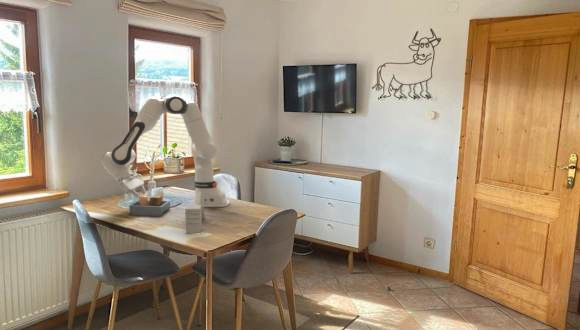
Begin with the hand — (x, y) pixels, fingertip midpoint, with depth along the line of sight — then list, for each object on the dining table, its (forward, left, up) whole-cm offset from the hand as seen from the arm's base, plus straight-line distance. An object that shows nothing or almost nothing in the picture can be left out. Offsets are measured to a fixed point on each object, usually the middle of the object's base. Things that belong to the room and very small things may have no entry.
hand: (142, 194), depth 250 cm
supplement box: (-38, +31, -10) cm, 50 cm away
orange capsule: (-1, 0, -9) cm, 9 cm away
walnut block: (-8, 0, -9) cm, 12 cm away
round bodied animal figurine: (-33, +12, -10) cm, 37 cm away
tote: (-4, 0, -10) cm, 11 cm away
